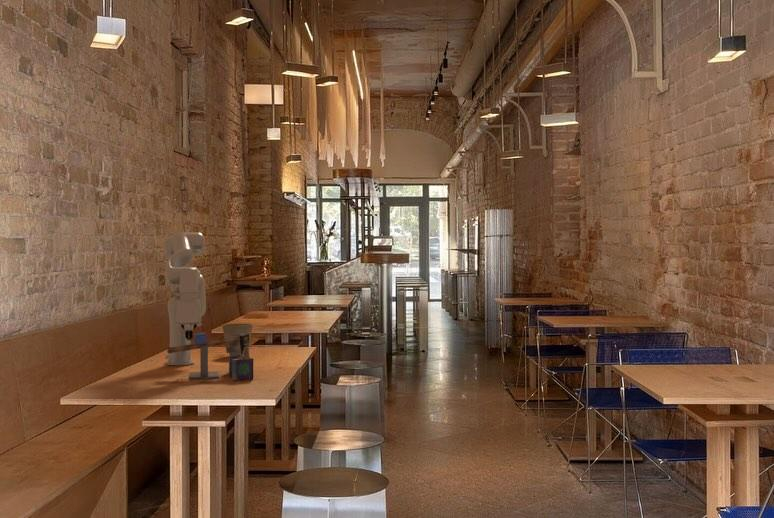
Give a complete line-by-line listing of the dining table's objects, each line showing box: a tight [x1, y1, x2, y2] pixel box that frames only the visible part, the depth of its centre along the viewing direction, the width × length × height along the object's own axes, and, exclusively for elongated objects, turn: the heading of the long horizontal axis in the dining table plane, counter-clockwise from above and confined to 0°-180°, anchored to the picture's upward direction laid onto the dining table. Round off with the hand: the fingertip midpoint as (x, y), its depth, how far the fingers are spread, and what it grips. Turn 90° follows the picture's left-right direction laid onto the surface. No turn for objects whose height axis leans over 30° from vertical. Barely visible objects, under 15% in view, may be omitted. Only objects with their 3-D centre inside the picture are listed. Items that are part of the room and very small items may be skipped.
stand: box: [189, 346, 236, 381], centre depth 359 cm, size 20×14×14 cm
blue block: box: [193, 332, 208, 345], centre depth 357 cm, size 5×4×5 cm
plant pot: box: [222, 323, 253, 343], centre depth 423 cm, size 15×15×16 cm
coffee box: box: [228, 334, 250, 359], centre depth 376 cm, size 9×6×16 cm
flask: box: [231, 354, 254, 382], centre depth 350 cm, size 9×3×11 cm, turn 121°
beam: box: [167, 337, 241, 354], centre depth 358 cm, size 30×8×6 cm, turn 103°
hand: (189, 339), depth 356 cm, fingers closed
